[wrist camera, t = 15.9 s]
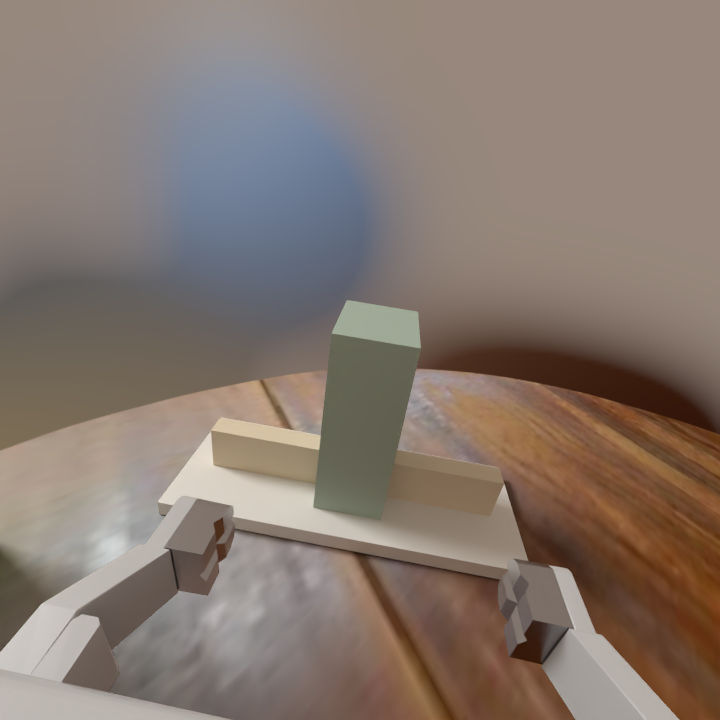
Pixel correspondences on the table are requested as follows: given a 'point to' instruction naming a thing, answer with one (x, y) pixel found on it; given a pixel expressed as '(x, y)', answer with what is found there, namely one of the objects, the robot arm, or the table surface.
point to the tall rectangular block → (365, 406)
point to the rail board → (351, 532)
